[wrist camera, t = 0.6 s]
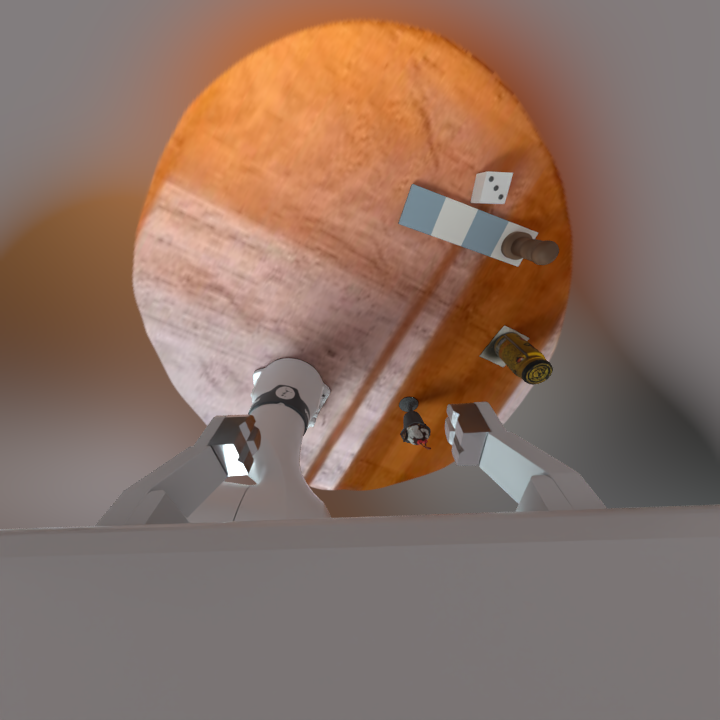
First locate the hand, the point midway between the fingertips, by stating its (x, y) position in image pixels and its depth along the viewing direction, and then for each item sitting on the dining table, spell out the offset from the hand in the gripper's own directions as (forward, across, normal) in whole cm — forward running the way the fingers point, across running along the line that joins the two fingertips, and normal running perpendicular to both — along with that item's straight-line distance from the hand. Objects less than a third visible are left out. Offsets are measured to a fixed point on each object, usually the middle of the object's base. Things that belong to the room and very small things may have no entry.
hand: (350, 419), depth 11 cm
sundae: (+43, +10, -38) cm, 58 cm away
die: (+44, +22, +8) cm, 49 cm away
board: (+43, +20, +2) cm, 48 cm away
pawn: (+42, +28, -1) cm, 51 cm away
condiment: (+44, +31, -23) cm, 58 cm away
